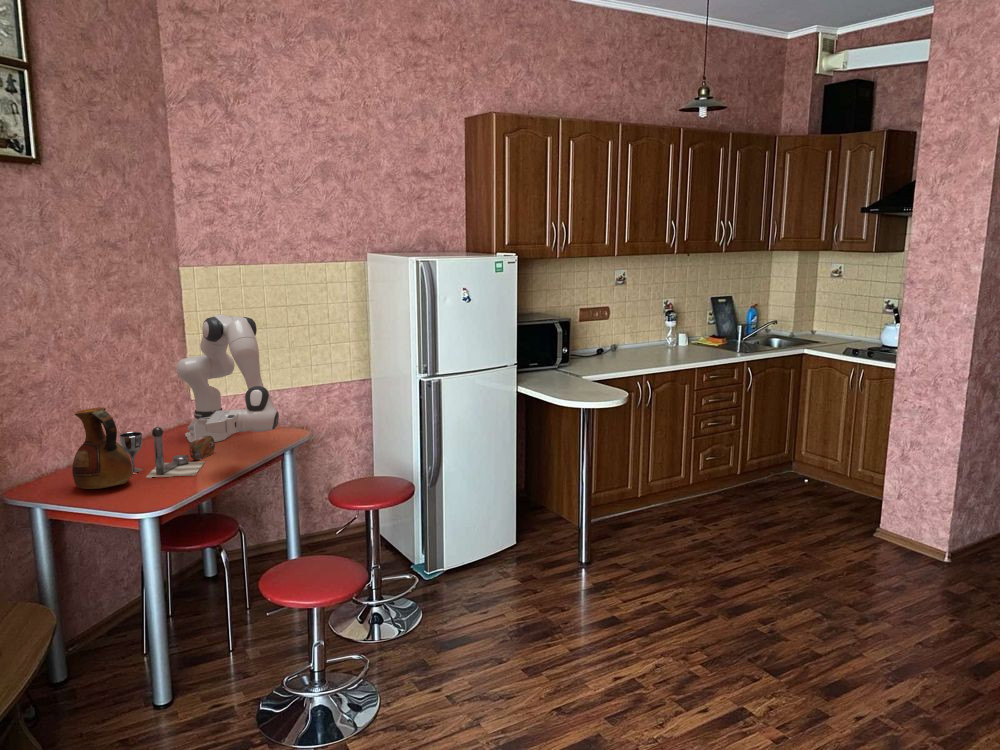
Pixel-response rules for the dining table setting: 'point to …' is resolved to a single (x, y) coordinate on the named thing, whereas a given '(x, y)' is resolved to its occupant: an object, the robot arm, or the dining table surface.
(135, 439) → the silver goblet
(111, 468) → the ceramic pitcher
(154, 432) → the lever
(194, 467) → the beige square panel
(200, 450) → the tin
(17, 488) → the dining table surface
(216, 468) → the dining table surface
